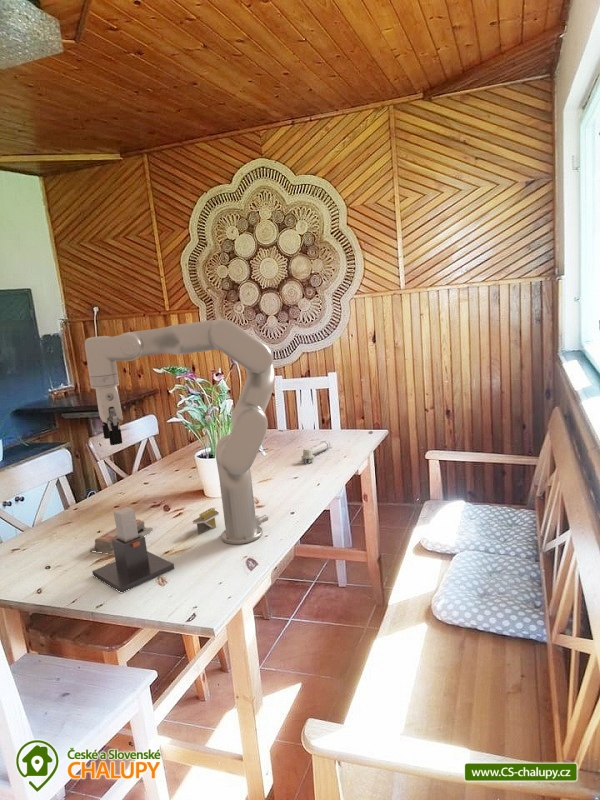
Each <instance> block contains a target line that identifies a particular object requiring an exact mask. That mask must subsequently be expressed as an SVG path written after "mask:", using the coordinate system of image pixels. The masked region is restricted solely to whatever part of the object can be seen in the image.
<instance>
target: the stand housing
mask: <svg viewBox="0 0 600 800" xmlns="http://www.w3.org/2000/svg"><path fill="white" fill-rule="evenodd" d="M138 536H139V538H138V539H136V540H133V541H131V542H128V543H126V544H124V543H122V542H120V541H118V538H116V539H113V540H112V543H113V549H114V555H113V556H114V561H113V562H110V563H108V564H106V565H103V566H102V567H99V568H97V569H94V570H92V576H93V575H94V576H95V577H94V576H93V577H94V578H96V577H97V578H98V579H97V578H96V579H97V580H99V579H100V580H101V582H102V581H103V582H102V583H104V582H105V583H106V584H105V583H104V584H105V585H107V584H108V585H110V586H111V587H110V586H109V587H110V588H112V587H113V588H115V589H117V590H118V591H120V592H123V593H125V592H127V591H126V590H128V589H130V590H131V588H132V589H134V588H136V587H139V586H140V585H143V584H144V583H148V582H149V581H151V580H153V579H155V578H158V577H160V576H162V575H164V574H167V573H168V572H171V571H173V570H175V564H174V563H173V562H171V561H168V560H166V559H165V558H163V557H161V556H158V555H156V554H154V553H152V552H150V551H148V548H147V542H146V536H145V537H144V536H141V535H139V534H138ZM100 580H99V581H100ZM108 585H107V586H108ZM133 587H134V588H133ZM113 588H112V589H113ZM115 589H114V590H115ZM117 590H116V591H117ZM118 591H117V592H118ZM124 591H125V592H124ZM128 591H129V590H128ZM120 592H119V593H120Z"/></svg>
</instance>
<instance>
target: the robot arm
mask: <svg viewBox="0 0 600 800" xmlns="http://www.w3.org/2000/svg"><path fill="white" fill-rule="evenodd" d="M84 348H85V349H84V350H85V357H86V362H87V363H86V364H87V368H88V369H87V370H88V376H89V383H90V388H91V389H94V390H95V395H96V403H97V408H98V414H99V419H100V420H101V422H102V425H101V426H102V432H103V438H104V439H105V440H109V445H110V446H115V445H122V444H123V436H122V430H121V426H120V422H122V421H123V420H124V416H123V411H122V406H121V400H120V396H119V391H118V386H120V379H119V371H118V365H117V364H118V363H117V362H132V361H135V360H137V359H138V358H142V357H148V356H155V355H166V354H167V355H174V356H179V355H189V354H195V353H203V352H209V351H215V350H219V351H221V352H222V353H223V354H225V355H226V356H227V357H229V358H230V359H232V360H233V361H234V362H236V363H238V365H241V366H242V367H243V368H244V369H245V373H246V376H245V383H244V386H243V389H242V391H241V394H240V395H239V398H238V400H237V402H236V405H235V407H234V409H233V411H232V412H231V413H232V414H231V416H230V422H231V425H232V428H231V430H230V433H229V434H226V435H224V436H222V437H221V438H220V439H218V442H217V443H216V446H215V448H214V449H215V460H216V467H217V471H218V477H219V487H220V495H221V504H222V510H223V519H224V527H225V529H224V530H223V531H222V533H221V536H220V537H221V540H222V541H223V542H224V543H226V544H231V545H243V544H247V543H251V542H254V541H256V540H259V538H260V537H261V536H262V535H263V528H262V527H261V526H260V525H262V524H264V523H265V522H267V521H269V516H268V515H267V514H263V515H262V516H259V515H256V509H255V500H254V499H255V497H254V491H253V483H252V482H253V481H252V480H253V479H252V473H251V467H252V466H253V464H254V462H255V460H256V457H257V455H258V453H259V451H260V448H261V446H262V443H263V442H264V439H265V436H266V434H267V432H268V431H267V430H268V423H269V422H268V418H267V415H266V413H265V412H266V409H267V407H268V405H269V402H270V399H271V397H272V393H273V390H274V389H275V382H276V375H275V369H274V368H275V367H274V364H273V362H274V356H273V352H272V350H271V349H270V347H268V345H266V344H265V343H263V342H262V341H260V340H259V339H257V338H256V337H254V336H253V335H251V334H250V333H248V332H247V331H246V330H244V329H243V328H242V327H240V326H239V325H238V324H236V323H235V322H233V321H232V320H229V319H222V318H218V319H210V320H205V321H203V320H202V321H197V322H190V323H188V322H187V323H180V324H174V325H168V326H165V327H161V328H160V327H159V328H151V329H145V330H137V331H128V332H124V333H122V334H120V335H115V336H108V335H101V336H100V335H99V336H91V337H88V338H86V339H85V340H84ZM119 421H120V422H119Z"/></svg>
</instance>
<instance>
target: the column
mask: <svg viewBox="0 0 600 800" xmlns="http://www.w3.org/2000/svg"><path fill="white" fill-rule="evenodd" d="M113 515H114V522H115V528H116V529H117V535H118V541H120V542H122V543H124V544H126V543H128V542H131V541H133V540H136V539H138V538H139V536H138V530H137V523H136V520H137V519H136V512H135V509H134V508H131V507H128V506H126V507H124V508H121V509H118V510H114V511H113Z"/></svg>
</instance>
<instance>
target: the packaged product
mask: <svg viewBox="0 0 600 800" xmlns="http://www.w3.org/2000/svg"><path fill="white" fill-rule="evenodd" d="M136 523H137V530H138V534H139V535H141V536H145V535H146V536H148V535H150V534H151V533H152V532H153V527H147V526H146V527H145V521H143V520H141V519H139V518H138V519H136ZM151 531H152V532H151ZM150 532H151V533H150ZM147 534H148V535H147ZM146 536H145V537H146ZM116 538H118V535H117V529H116V527H114V528H113V529H112V530H110V531H108V532H106V533H105V534H103V535H101V536H98V537H97V538H96V539H94V546H93V548H91V549H89V552H91V551H96V552H102V553H108V554H107V555H110V554H114V549H113V543H112V540H113V539H116ZM102 553H101V554H102Z"/></svg>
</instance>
